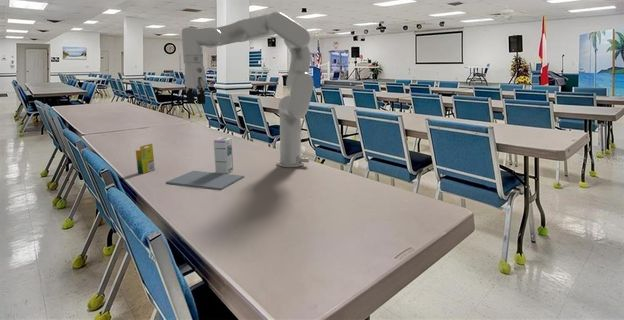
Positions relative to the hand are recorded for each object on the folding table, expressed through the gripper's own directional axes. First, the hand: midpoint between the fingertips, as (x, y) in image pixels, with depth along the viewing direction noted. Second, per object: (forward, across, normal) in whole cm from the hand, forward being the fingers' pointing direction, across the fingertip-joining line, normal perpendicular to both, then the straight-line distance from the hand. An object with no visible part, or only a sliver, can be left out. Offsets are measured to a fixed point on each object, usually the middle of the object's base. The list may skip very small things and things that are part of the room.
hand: (196, 103), depth 164 cm
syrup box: (+30, -7, -8) cm, 31 cm away
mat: (+29, -14, +4) cm, 33 cm away
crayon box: (+29, +14, +18) cm, 37 cm away
